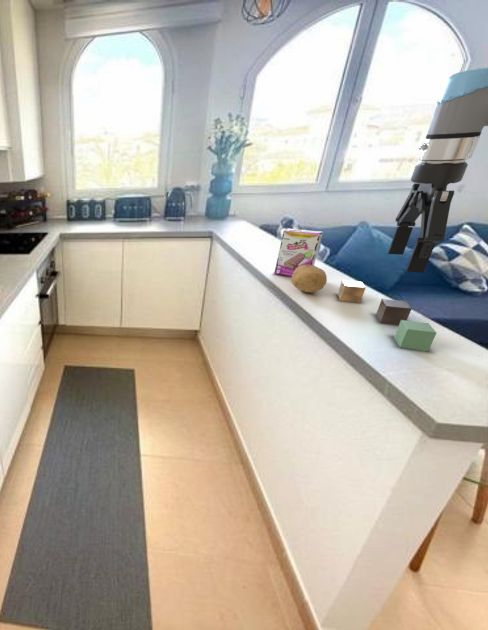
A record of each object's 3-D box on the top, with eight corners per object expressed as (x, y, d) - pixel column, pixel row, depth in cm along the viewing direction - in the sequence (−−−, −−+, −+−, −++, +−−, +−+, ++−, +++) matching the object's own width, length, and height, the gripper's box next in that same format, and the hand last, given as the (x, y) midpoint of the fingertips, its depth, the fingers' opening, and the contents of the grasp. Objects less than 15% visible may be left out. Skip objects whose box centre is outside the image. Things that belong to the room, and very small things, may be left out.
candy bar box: (273, 274, 129) (282, 230, 121) (277, 270, 132) (286, 227, 124) (308, 280, 121) (320, 234, 114) (311, 276, 125) (323, 231, 117)
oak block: (357, 296, 107) (362, 281, 105) (360, 303, 103) (365, 287, 101) (337, 294, 109) (341, 280, 107) (340, 300, 105) (344, 285, 103)
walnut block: (398, 317, 94) (405, 301, 92) (404, 325, 90) (411, 308, 88) (375, 315, 96) (381, 298, 94) (380, 322, 92) (386, 306, 90)
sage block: (420, 341, 83) (428, 323, 81) (428, 351, 79) (436, 332, 77) (393, 337, 86) (401, 319, 83) (399, 347, 82) (407, 329, 79)
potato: (317, 283, 119) (323, 261, 115) (329, 299, 107) (336, 275, 103) (284, 281, 122) (289, 260, 118) (292, 297, 110) (298, 273, 107)
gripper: (398, 158, 81) (370, 246, 90) (442, 167, 61) (399, 278, 71) (442, 157, 78) (407, 248, 87) (502, 165, 58) (449, 282, 67)
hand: (404, 262), depth 79 cm, fingers open, 13 cm apart
